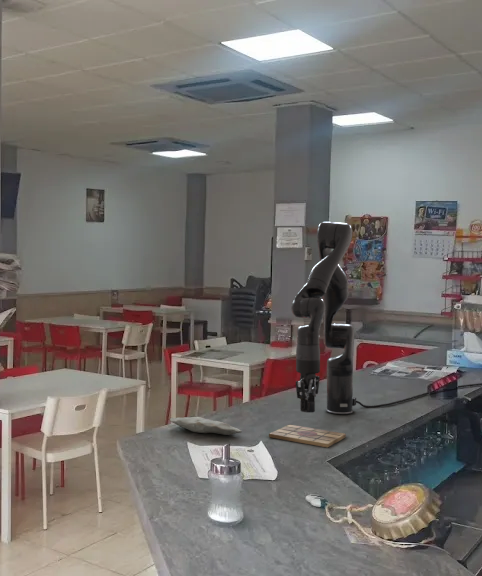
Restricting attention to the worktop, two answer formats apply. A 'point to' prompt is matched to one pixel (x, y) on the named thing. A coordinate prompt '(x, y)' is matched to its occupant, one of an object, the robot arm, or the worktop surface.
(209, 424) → the stone tool replica
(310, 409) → the dark grey short cylinder
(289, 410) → the worktop surface
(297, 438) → the grid board
